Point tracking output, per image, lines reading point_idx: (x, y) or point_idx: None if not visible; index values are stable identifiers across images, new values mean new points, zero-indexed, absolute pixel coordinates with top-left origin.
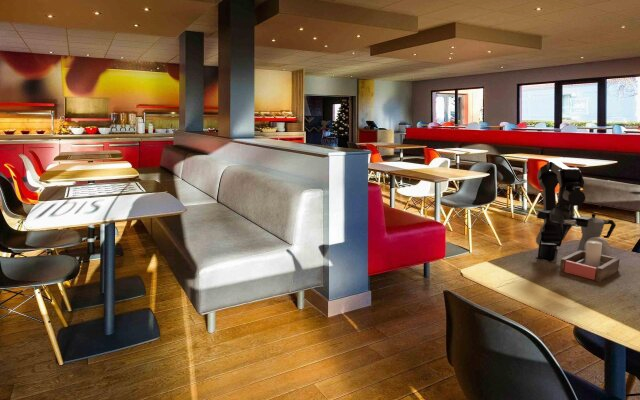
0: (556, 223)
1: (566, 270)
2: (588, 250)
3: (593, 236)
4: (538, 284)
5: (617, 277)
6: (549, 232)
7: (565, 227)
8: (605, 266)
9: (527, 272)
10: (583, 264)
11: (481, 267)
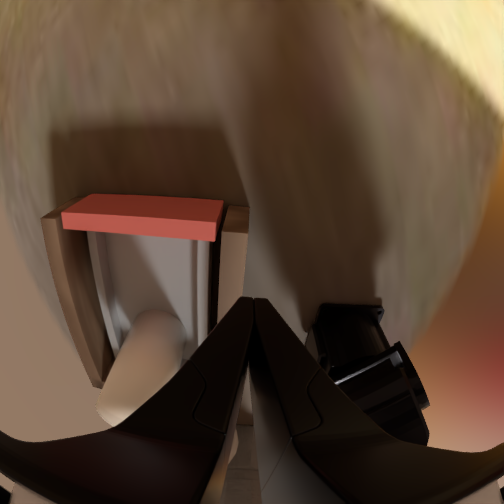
0: (429, 488)
1: (211, 203)
2: (147, 372)
3: (226, 479)
4: None
5: None
6: (384, 416)
7: (154, 443)
8: (51, 266)
9: (366, 67)
10: (120, 232)
11: (498, 43)
